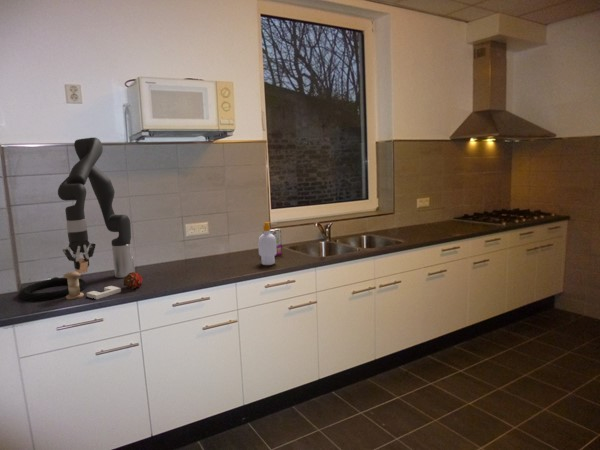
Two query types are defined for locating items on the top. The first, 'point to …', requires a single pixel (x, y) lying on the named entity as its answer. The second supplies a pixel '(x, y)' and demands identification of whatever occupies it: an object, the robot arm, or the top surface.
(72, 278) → the bobbin
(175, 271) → the top surface
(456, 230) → the top surface
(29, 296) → the cable lock
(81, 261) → the brown wooden block
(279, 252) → the candy bar box
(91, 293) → the notch board
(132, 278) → the dragon fruit
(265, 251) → the soap bottle
